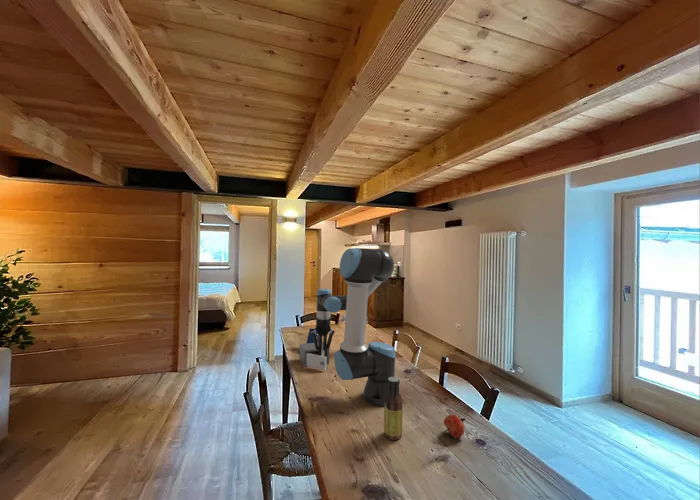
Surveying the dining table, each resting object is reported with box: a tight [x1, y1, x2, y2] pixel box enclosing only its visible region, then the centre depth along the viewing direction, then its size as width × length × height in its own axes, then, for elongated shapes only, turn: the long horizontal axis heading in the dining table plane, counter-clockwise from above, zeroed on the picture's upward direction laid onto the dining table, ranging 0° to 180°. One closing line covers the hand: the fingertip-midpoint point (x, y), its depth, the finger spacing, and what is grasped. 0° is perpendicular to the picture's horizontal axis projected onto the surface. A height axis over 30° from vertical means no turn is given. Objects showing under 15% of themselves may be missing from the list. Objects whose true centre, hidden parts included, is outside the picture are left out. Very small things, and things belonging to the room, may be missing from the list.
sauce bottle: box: [383, 376, 404, 441], centre depth 105 cm, size 6×6×20 cm
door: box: [306, 353, 327, 371], centre depth 162 cm, size 2×12×7 cm, turn 65°
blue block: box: [306, 328, 319, 343], centre depth 193 cm, size 6×20×15 cm, turn 174°
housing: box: [299, 341, 330, 368], centre depth 173 cm, size 12×14×9 cm
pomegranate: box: [442, 414, 467, 439], centre depth 107 cm, size 7×7×10 cm
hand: (321, 361), depth 163 cm, fingers closed
